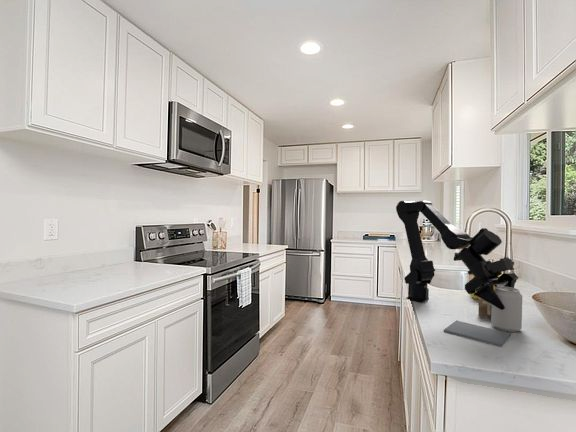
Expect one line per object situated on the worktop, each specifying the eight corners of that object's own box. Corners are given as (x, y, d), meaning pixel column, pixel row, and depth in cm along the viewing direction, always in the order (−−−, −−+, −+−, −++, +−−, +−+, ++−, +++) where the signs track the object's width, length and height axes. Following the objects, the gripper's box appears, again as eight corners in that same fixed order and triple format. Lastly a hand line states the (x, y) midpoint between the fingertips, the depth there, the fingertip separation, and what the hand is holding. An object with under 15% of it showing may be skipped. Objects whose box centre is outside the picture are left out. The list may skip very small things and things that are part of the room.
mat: (443, 331, 92) (443, 329, 92) (456, 322, 99) (456, 320, 99) (501, 346, 82) (501, 344, 82) (510, 335, 90) (510, 333, 90)
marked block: (478, 316, 106) (478, 298, 106) (483, 311, 111) (483, 294, 110) (499, 320, 102) (499, 301, 102) (503, 316, 106) (504, 298, 106)
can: (526, 334, 91) (528, 292, 90) (497, 331, 92) (498, 290, 92) (513, 324, 98) (515, 285, 98) (486, 322, 99) (487, 284, 99)
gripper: (475, 249, 94) (514, 296, 84) (512, 247, 102) (552, 289, 92) (450, 271, 101) (483, 316, 91) (487, 267, 109) (521, 308, 100)
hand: (511, 307), depth 94 cm, fingers closed on can, 7 cm apart
